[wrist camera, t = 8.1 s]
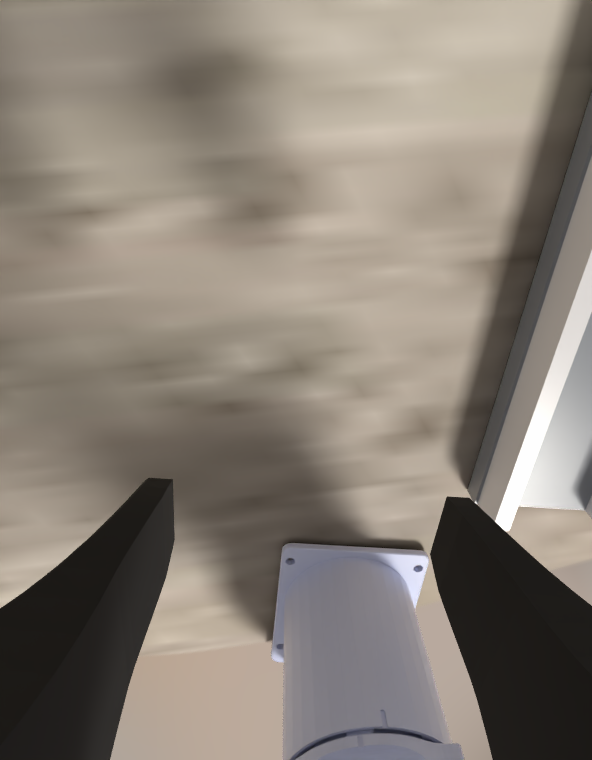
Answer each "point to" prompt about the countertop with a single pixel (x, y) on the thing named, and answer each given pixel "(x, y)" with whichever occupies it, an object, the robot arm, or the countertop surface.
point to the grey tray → (548, 370)
